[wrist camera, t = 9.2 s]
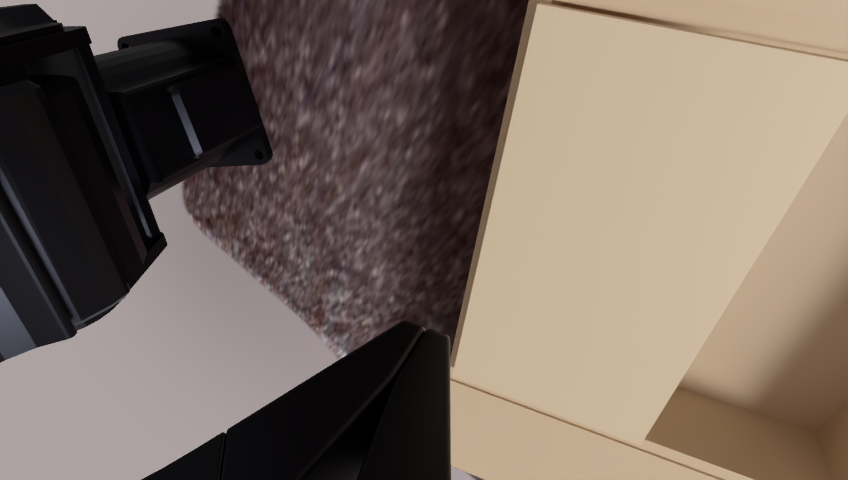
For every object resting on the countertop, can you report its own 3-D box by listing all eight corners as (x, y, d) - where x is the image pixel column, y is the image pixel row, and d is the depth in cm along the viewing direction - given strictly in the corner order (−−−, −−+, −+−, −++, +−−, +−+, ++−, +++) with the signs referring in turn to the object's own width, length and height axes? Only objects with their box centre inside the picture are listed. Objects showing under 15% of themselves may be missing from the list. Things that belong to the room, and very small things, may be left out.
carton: (452, 396, 29) (426, 462, 25) (618, -302, 13) (611, -390, 9) (753, 509, 25) (772, 605, 22) (1490, -260, 9) (2012, -374, 6)
